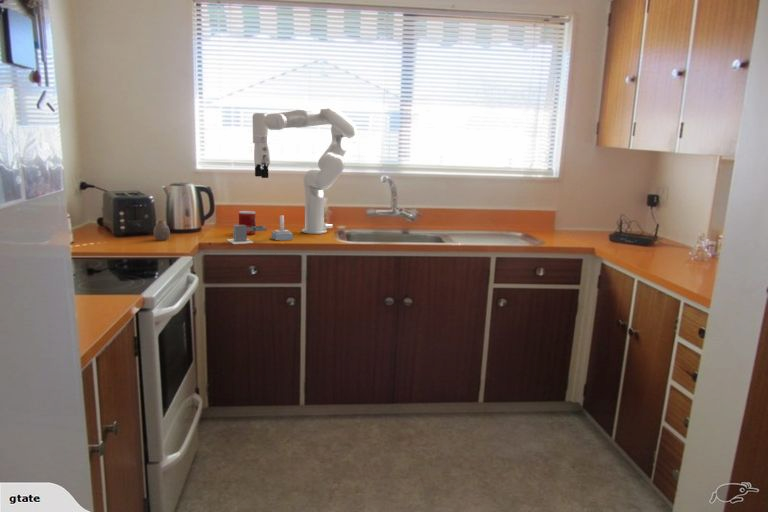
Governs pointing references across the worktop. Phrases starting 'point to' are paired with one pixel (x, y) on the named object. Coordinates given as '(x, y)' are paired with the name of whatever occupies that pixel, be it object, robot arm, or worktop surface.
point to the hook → (244, 231)
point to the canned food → (247, 220)
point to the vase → (161, 231)
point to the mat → (239, 242)
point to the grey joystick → (282, 232)
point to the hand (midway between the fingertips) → (261, 177)
